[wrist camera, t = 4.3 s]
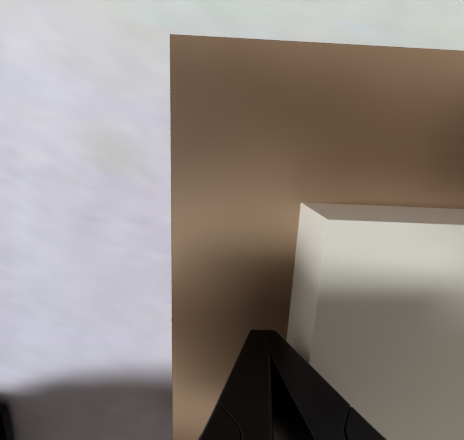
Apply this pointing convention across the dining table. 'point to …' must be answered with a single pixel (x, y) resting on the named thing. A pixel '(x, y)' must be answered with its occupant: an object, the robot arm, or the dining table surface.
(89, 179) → the dining table surface
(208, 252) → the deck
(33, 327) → the dining table surface
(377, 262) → the white rectangular block
